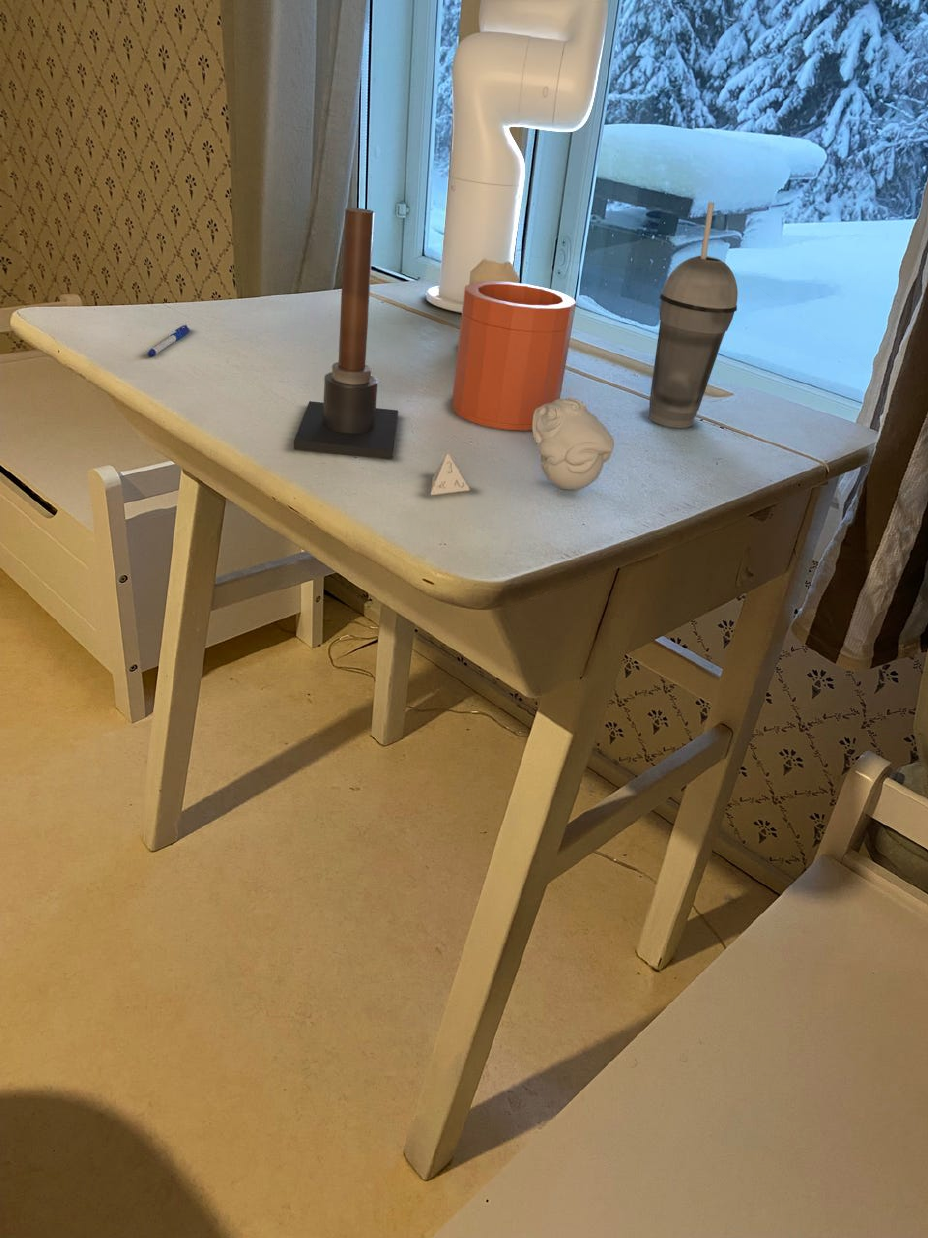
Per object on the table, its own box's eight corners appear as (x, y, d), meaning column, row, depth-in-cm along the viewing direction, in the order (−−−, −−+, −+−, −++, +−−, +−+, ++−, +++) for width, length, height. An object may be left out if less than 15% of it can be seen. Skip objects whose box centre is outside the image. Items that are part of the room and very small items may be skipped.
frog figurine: (546, 463, 79) (559, 383, 75) (619, 489, 76) (637, 406, 72) (507, 482, 74) (520, 397, 71) (583, 510, 71) (600, 423, 68)
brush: (325, 413, 81) (333, 202, 72) (376, 418, 81) (390, 209, 73) (319, 430, 77) (327, 210, 69) (372, 436, 78) (387, 217, 69)
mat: (309, 409, 84) (309, 400, 83) (397, 418, 84) (398, 410, 84) (293, 449, 75) (293, 440, 75) (392, 459, 76) (393, 450, 75)
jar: (451, 390, 93) (464, 276, 88) (550, 401, 94) (568, 288, 88) (452, 424, 85) (466, 300, 79) (560, 435, 85) (581, 313, 80)
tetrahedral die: (413, 498, 72) (409, 467, 70) (433, 477, 74) (429, 446, 71) (451, 511, 71) (448, 480, 68) (470, 490, 72) (468, 459, 70)
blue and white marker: (182, 331, 101) (181, 322, 100) (190, 332, 101) (190, 323, 100) (147, 357, 92) (146, 347, 91) (156, 358, 92) (155, 348, 91)
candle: (510, 348, 110) (522, 259, 104) (507, 361, 105) (520, 268, 100) (464, 342, 110) (474, 252, 105) (459, 354, 105) (469, 261, 100)
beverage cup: (669, 436, 89) (723, 210, 79) (619, 410, 94) (663, 195, 84) (721, 428, 93) (779, 213, 82) (670, 404, 98) (719, 198, 87)
